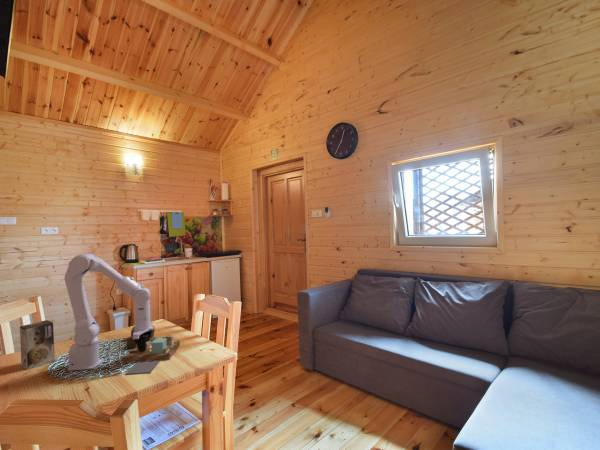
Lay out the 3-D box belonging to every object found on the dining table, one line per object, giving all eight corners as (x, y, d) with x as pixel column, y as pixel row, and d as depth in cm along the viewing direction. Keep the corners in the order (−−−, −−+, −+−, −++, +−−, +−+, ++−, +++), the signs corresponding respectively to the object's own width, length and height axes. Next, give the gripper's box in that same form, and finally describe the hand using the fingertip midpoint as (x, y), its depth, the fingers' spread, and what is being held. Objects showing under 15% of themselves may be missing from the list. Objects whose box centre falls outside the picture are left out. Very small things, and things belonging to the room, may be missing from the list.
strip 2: (144, 350, 131) (144, 338, 131) (148, 346, 135) (148, 335, 135) (171, 348, 132) (171, 337, 132) (174, 345, 136) (174, 334, 136)
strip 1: (136, 356, 125) (136, 344, 125) (140, 352, 129) (140, 341, 129) (166, 354, 126) (166, 343, 126) (169, 350, 130) (169, 339, 130)
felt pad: (125, 374, 112) (124, 373, 112) (135, 363, 121) (135, 362, 121) (150, 373, 113) (150, 372, 113) (159, 362, 122) (159, 361, 122)
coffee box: (48, 357, 129) (47, 319, 129) (55, 360, 126) (54, 321, 126) (20, 366, 121) (19, 326, 121) (26, 370, 118) (25, 328, 118)
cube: (151, 354, 125) (151, 343, 125) (155, 349, 129) (155, 338, 129) (163, 353, 125) (162, 342, 125) (166, 348, 130) (166, 338, 130)
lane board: (121, 362, 122) (121, 356, 122) (136, 348, 136) (136, 342, 136) (169, 359, 124) (169, 353, 124) (179, 345, 138) (179, 340, 138)
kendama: (120, 351, 136) (137, 333, 156) (143, 349, 137) (157, 332, 157) (120, 337, 136) (137, 322, 155) (143, 336, 137) (157, 321, 157)
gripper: (145, 322, 120) (146, 356, 120) (159, 312, 134) (159, 342, 134) (126, 323, 119) (127, 358, 119) (142, 312, 134) (143, 343, 134)
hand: (143, 350), depth 127 cm, fingers closed on strip 1, 2 cm apart
